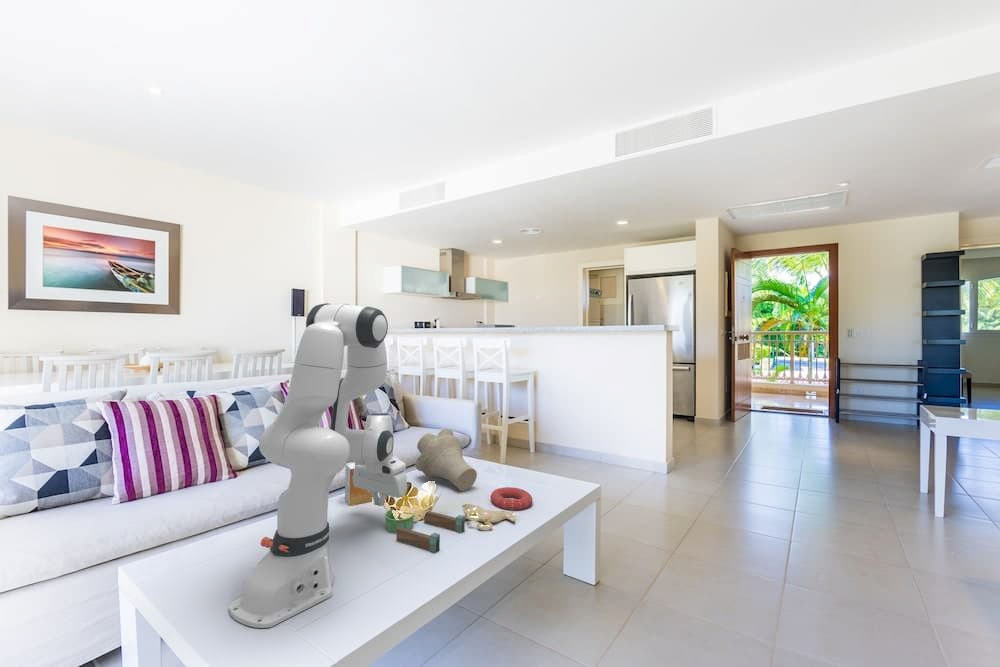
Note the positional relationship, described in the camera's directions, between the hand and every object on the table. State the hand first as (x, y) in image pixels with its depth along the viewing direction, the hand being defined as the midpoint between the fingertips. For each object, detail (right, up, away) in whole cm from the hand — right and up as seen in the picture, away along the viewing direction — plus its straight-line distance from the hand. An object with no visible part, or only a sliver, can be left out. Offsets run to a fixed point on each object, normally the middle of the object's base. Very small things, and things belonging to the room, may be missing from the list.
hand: (379, 504), depth 145 cm
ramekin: (+8, -5, -5) cm, 11 cm away
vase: (+18, -5, +34) cm, 39 cm away
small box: (-11, -5, +15) cm, 19 cm away
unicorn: (+34, -6, +3) cm, 34 cm away
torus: (+43, -6, +17) cm, 47 cm away
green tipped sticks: (+18, -5, -10) cm, 22 cm away
